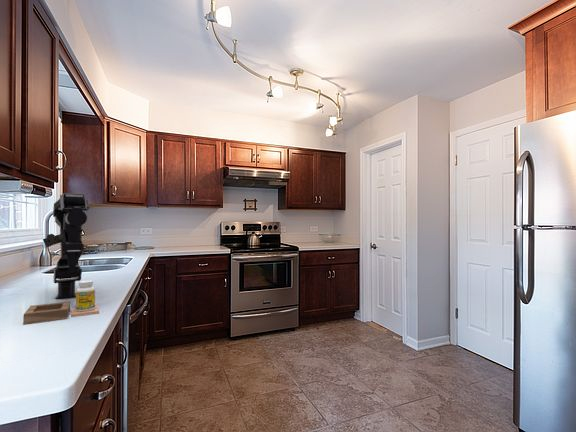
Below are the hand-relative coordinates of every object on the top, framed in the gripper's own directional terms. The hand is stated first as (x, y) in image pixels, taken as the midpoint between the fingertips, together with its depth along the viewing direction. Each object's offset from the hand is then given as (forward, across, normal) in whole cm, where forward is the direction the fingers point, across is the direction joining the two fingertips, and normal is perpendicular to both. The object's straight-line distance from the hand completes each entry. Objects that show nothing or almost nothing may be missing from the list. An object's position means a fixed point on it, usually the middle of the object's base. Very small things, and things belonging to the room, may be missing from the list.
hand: (71, 269), depth 112 cm
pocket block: (+14, +12, -6) cm, 19 cm away
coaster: (+14, +13, +4) cm, 19 cm away
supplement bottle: (+13, +12, +4) cm, 18 cm away
